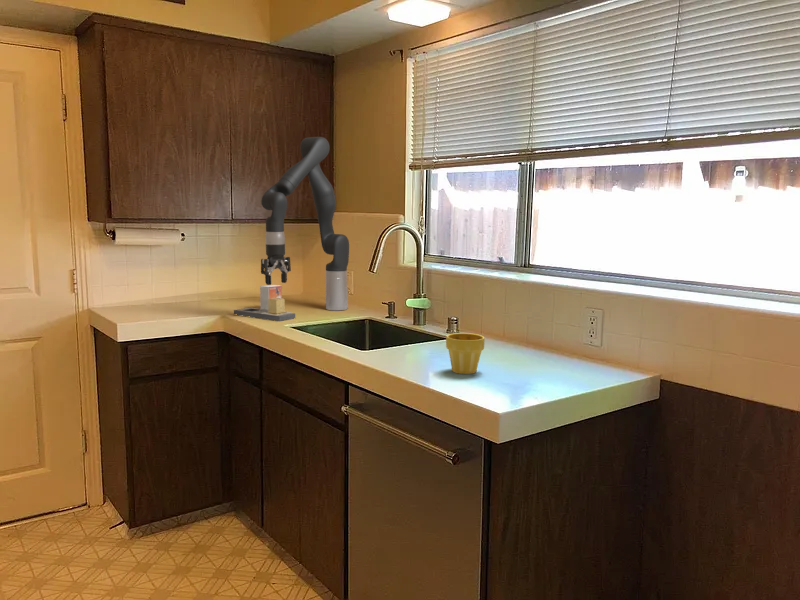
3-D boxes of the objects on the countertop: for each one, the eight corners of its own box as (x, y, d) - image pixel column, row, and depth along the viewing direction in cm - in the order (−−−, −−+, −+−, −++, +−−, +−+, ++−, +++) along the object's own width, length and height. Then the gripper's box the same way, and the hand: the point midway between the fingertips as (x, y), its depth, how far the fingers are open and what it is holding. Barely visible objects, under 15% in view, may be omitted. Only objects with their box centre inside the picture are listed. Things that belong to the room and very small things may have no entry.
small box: (268, 311, 279) (268, 286, 277) (260, 309, 282) (259, 285, 281) (282, 309, 285) (282, 285, 284) (274, 307, 289) (273, 284, 287)
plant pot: (480, 377, 170) (481, 341, 169) (442, 374, 173) (442, 338, 172) (485, 368, 180) (487, 334, 179) (449, 365, 183) (450, 331, 182)
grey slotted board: (250, 312, 275) (250, 306, 274) (295, 318, 260) (295, 312, 260) (233, 314, 267) (233, 309, 267) (279, 321, 253) (279, 315, 253)
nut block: (276, 317, 263) (276, 297, 262) (284, 318, 261) (284, 298, 260) (268, 318, 259) (268, 298, 258) (276, 319, 257) (276, 299, 256)
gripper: (269, 244, 248) (270, 286, 250) (294, 242, 260) (295, 282, 262) (255, 243, 252) (256, 284, 255) (281, 241, 264) (282, 281, 266)
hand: (276, 283), depth 258 cm, fingers open, 8 cm apart
